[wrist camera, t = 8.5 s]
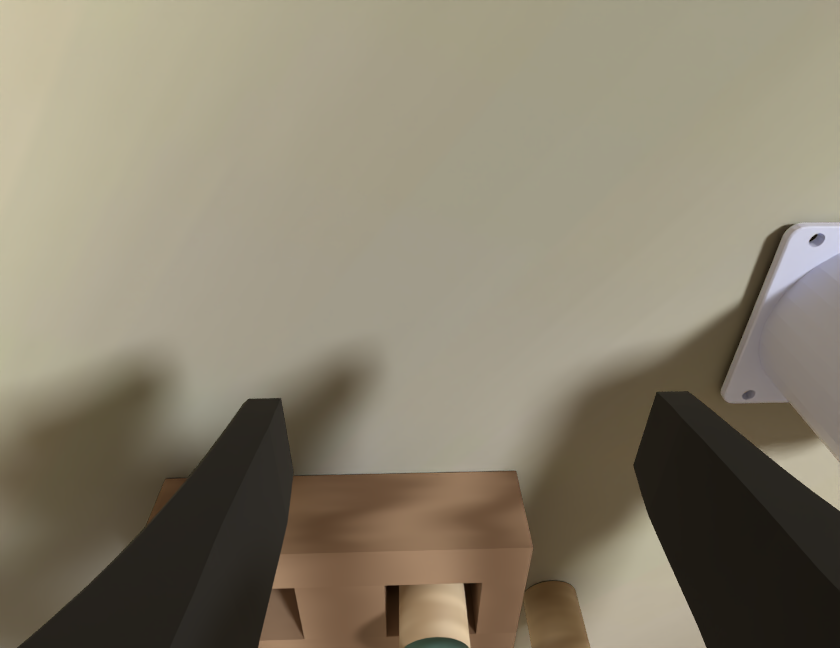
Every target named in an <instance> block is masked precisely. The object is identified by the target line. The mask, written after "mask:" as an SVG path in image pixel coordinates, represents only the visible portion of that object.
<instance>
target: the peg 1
mask: <svg viewBox="0 0 840 648" xmlns="http://www.w3.org/2000/svg"><path fill="white" fill-rule="evenodd" d="M399 648H471V647H470V638H469V628H468V619H467V609H466V600H465V591H464V583H456V584H421V585H399Z"/></svg>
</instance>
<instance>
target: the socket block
mask: <svg viewBox="0 0 840 648" xmlns="http://www.w3.org/2000/svg"><path fill="white" fill-rule="evenodd" d="M186 479H187V478H178V479H165V481H164V484H163V486H162V488H161V491H160V493H159V496H158V498H157V500H156V503H155V505H154V507H153V510H152V512H151V515H150V517H149V519H148V522H147V524H148V523H149V522H150V521H151V520H152V519H153V518H154V516H155V515H156V514H157V513H158V512H159V511H160V510H161V509H162V507H163V506H164V505H165V504H166V503H167V502H168V501H169V500H170V498H171V497H172V496H173V495H174V494H175V493H176V491H177V490H178V489H179V488H180V487H181V485H182V484H183V483H184V482H185V480H186ZM147 524H146V526H147ZM532 552H533V544H532V539H531V535H530V531H529V526H528V522H527V517H526V513H525V508H524V504H523V499H522V495H521V491H520V486H519V482H518V477H517V473H516V471H500V472H454V473H408V474H362V475H316V476H293V481H292V490H291V499H290V507H289V515H288V523H287V527H286V532H285V536H284V540H283V545H282V549H281V553H280V557H279V562H278V566H277V570H276V574H275V578H274V582H273V587H272V591H271V595H270V599H269V603H268V607H267V612H266V616H265V620H264V624H263V628H262V632H261V637H260V641H259V646H258V648H399V585H421V584H456V583H464V591H465V600H466V609H467V619H468V628H469V638H470V647H471V648H513V647H514V642H515V637H516V632H517V627H518V622H519V617H520V612H521V607H522V602H523V597H524V592H525V587H526V582H527V577H528V572H529V567H530V562H531V557H532Z"/></svg>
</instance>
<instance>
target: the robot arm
mask: <svg viewBox="0 0 840 648" xmlns="http://www.w3.org/2000/svg"><path fill="white" fill-rule="evenodd" d="M815 234H818V235H817V237H816V238H815V239H814V240H812V241H810V242H809V240H810V239H811V237H812V236H814V235H815ZM748 390H749V391H748ZM746 391H747V392H746ZM744 392H746V393H744ZM721 395H722V397H723V398H724V400H725V401H726V402H728V403H782V402H789V403H790V404H791V405H792V406H793V407H794V409H795V410H796V411H797V412H798V413H799V415H800V416H801V417H802V418H803V419H804V421H805V422H806V423H807V424H808V425H809V426H810V428H811V429H812V430H813V431H814V432H815V434H816V435H817V436H818V437H819V438H820V440H821V441H822V442H823V443H824V444H825V446H826V447H827V448H828V449H829V450H830V452H831V453H832V454H833V455H834V456H835V458H836V459H837V460H838V461H839V462H840V222H816V223H797V224H795V225H793V226H791V227H790V228H789V229H787V230H786V231H785V233H784V235H783V237H782V239H781V241H780V244H779V246H778V249H777V251H776V254H775V256H774V259H773V261H772V264H771V266H770V269H769V271H768V274H767V276H766V279H765V281H764V284H763V286H762V289H761V291H760V294H759V296H758V299H757V301H756V304H755V306H754V309H753V311H752V314H751V316H750V319H749V321H748V324H747V326H746V329H745V331H744V334H743V336H742V339H741V341H740V344H739V346H738V349H737V351H736V354H735V356H734V359H733V361H732V364H731V366H730V369H729V371H728V374H727V376H726V378H725V381H724V383H723V386H722V388H721ZM634 469H635V473H636V476H637V480H638V483H639V487H640V490H641V494H642V497H643V500H644V503H645V506H646V509H647V513H648V515H649V518H650V520H651V522H652V525H653V527H654V529H655V532H656V534H657V536H658V538H659V541H660V543H661V545H662V547H663V550H664V552H665V554H666V556H667V559H668V561H669V563H670V565H671V567H672V570H673V572H674V574H675V576H676V579H677V581H678V583H679V585H680V587H681V590H682V592H683V594H684V596H685V599H686V601H687V603H688V605H689V607H690V610H691V612H692V614H693V616H694V619H695V621H696V623H697V625H698V628H699V630H700V633H701V635H702V638H703V640H704V642H705V645H706V647H707V648H840V511H839V510H837V509H836V508H835V507H833V506H832V505H831V504H829V503H828V502H826V501H825V500H824V499H822V498H821V497H820V496H818V495H817V494H815V493H814V492H813V491H811V490H810V489H809V488H808V487H806V486H805V485H804V484H802V483H801V482H800V481H798V480H797V479H796V478H794V477H793V476H792V475H791V474H789V473H788V472H787V471H786V470H784V469H783V468H782V467H780V466H779V465H778V464H777V463H776V462H774V461H773V460H772V459H771V458H769V457H768V456H767V455H766V454H764V453H763V452H762V451H761V450H759V449H758V448H757V447H756V446H754V445H753V444H752V443H751V442H750V441H748V440H747V439H746V438H745V437H744V436H742V435H741V434H740V433H739V432H738V431H736V430H735V429H734V428H733V427H731V426H730V425H729V424H728V423H727V422H725V421H724V420H723V419H722V418H721V417H719V416H718V415H717V414H716V413H715V412H713V411H712V410H711V409H710V408H708V407H707V406H706V405H705V404H704V403H702V402H701V401H700V400H698V399H697V398H696V397H695V396H693V395H692V394H691V393H689V392H688V391H683V392H657V393H656V396H655V399H654V402H653V405H652V408H651V412H650V415H649V418H648V421H647V424H646V427H645V430H644V434H643V437H642V440H641V443H640V446H639V449H638V452H637V455H636V459H635V462H634ZM292 481H293V467H292V461H291V455H290V449H289V443H288V437H287V431H286V425H285V419H284V413H283V407H282V401H281V398H269V399H248V400H247V401H246V402H245V403H244V404H243V405H242V406H241V408H240V409H239V411H238V412H237V413H236V415H235V416H234V418H233V419H232V420H231V422H230V423H229V425H228V426H227V427H226V429H225V430H224V431H223V433H222V434H221V436H220V437H219V438H218V440H217V441H216V442H215V444H214V445H213V446H212V448H211V449H210V450H209V451H208V453H207V454H206V455H205V457H204V458H203V459H202V460H201V462H200V463H199V464H198V465H197V467H196V468H195V469H194V470H193V472H192V473H191V474H190V475H189V477H188V478H187V479H186V480H185V482H184V483H183V484H182V485H181V487H180V488H179V489H178V490H177V491H176V493H175V494H174V495H173V496H172V497H171V498H170V500H169V501H168V502H167V503H166V504H165V505H164V506H163V507H162V509H161V510H160V511H159V512H158V513H157V514H156V515H155V516H154V518H153V519H152V520H151V521H150V522H149V523H148V524H147V526H146V527H145V528H144V529H143V530H142V531H141V532H140V533H139V534H138V535H137V536H136V538H135V539H134V540H133V541H132V542H131V543H130V544H129V545H128V546H127V547H126V548H125V549H124V550H123V551H122V552H121V553H120V554H119V555H118V556H117V557H116V558H115V559H114V560H113V561H112V562H111V563H110V564H109V565H108V566H107V567H106V568H105V569H104V570H103V571H102V572H101V573H100V574H99V575H98V576H97V577H96V578H95V579H94V580H93V581H92V582H91V583H90V584H89V585H88V586H86V587H85V588H84V589H83V590H82V591H81V592H80V593H79V594H78V595H77V596H75V597H74V598H73V599H72V600H71V601H70V602H69V603H68V604H67V605H66V606H65V607H63V608H62V609H61V610H60V611H59V612H58V613H57V614H56V615H55V616H54V617H52V618H51V619H50V620H49V621H48V622H47V623H46V624H44V625H43V626H42V627H41V628H40V629H39V630H38V631H36V632H35V633H34V634H33V635H32V636H31V637H29V638H28V639H27V640H26V641H25V642H23V643H22V644H21V645H20V646H19V647H17V648H258V646H259V641H260V637H261V632H262V628H263V624H264V620H265V616H266V612H267V607H268V603H269V599H270V595H271V591H272V587H273V582H274V578H275V574H276V570H277V566H278V562H279V557H280V553H281V549H282V545H283V540H284V536H285V532H286V527H287V523H288V515H289V507H290V499H291V490H292Z"/></svg>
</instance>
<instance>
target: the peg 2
mask: <svg viewBox="0 0 840 648" xmlns="http://www.w3.org/2000/svg"><path fill="white" fill-rule="evenodd" d="M523 602H524V607H525V613H526V619H527V624H528V630H529V635H530V641H531V646H532V648H590V644H589V640H588V637H587V633H586V629H585V625H584V621H583V617H582V614H581V610H580V606H579V602H578V598H577V594H576V591H575V589H574V587H573V586H571V585H570V584H568V583H565V582H561V581H547V582H542V583H538V584H536V585H534V586H532V587H530V588H529V589H528V590H526V592H525V593H524V597H523Z"/></svg>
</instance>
